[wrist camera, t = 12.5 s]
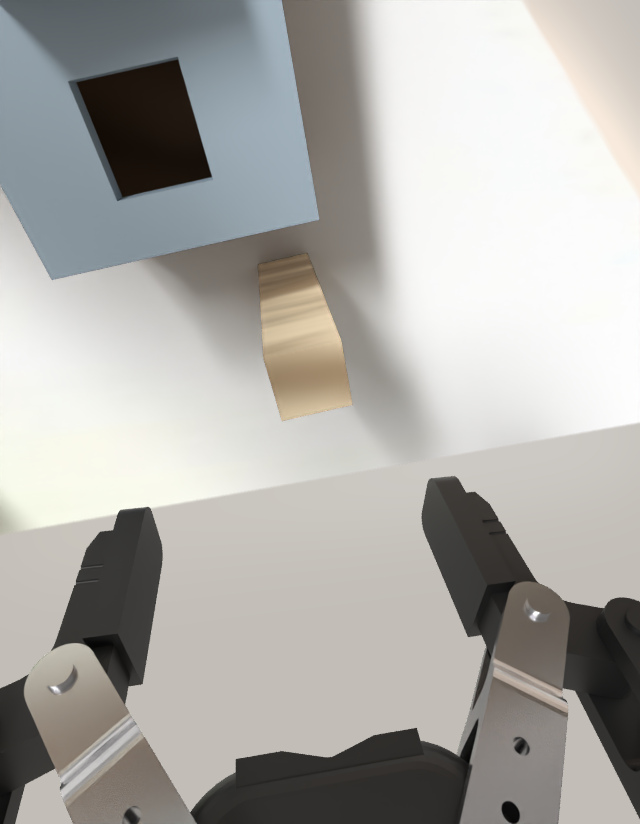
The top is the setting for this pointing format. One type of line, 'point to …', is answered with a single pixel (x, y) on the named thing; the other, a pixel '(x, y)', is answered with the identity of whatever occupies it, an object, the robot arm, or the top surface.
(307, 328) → the beech key
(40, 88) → the lid
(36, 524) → the top surface
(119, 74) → the wooden box
